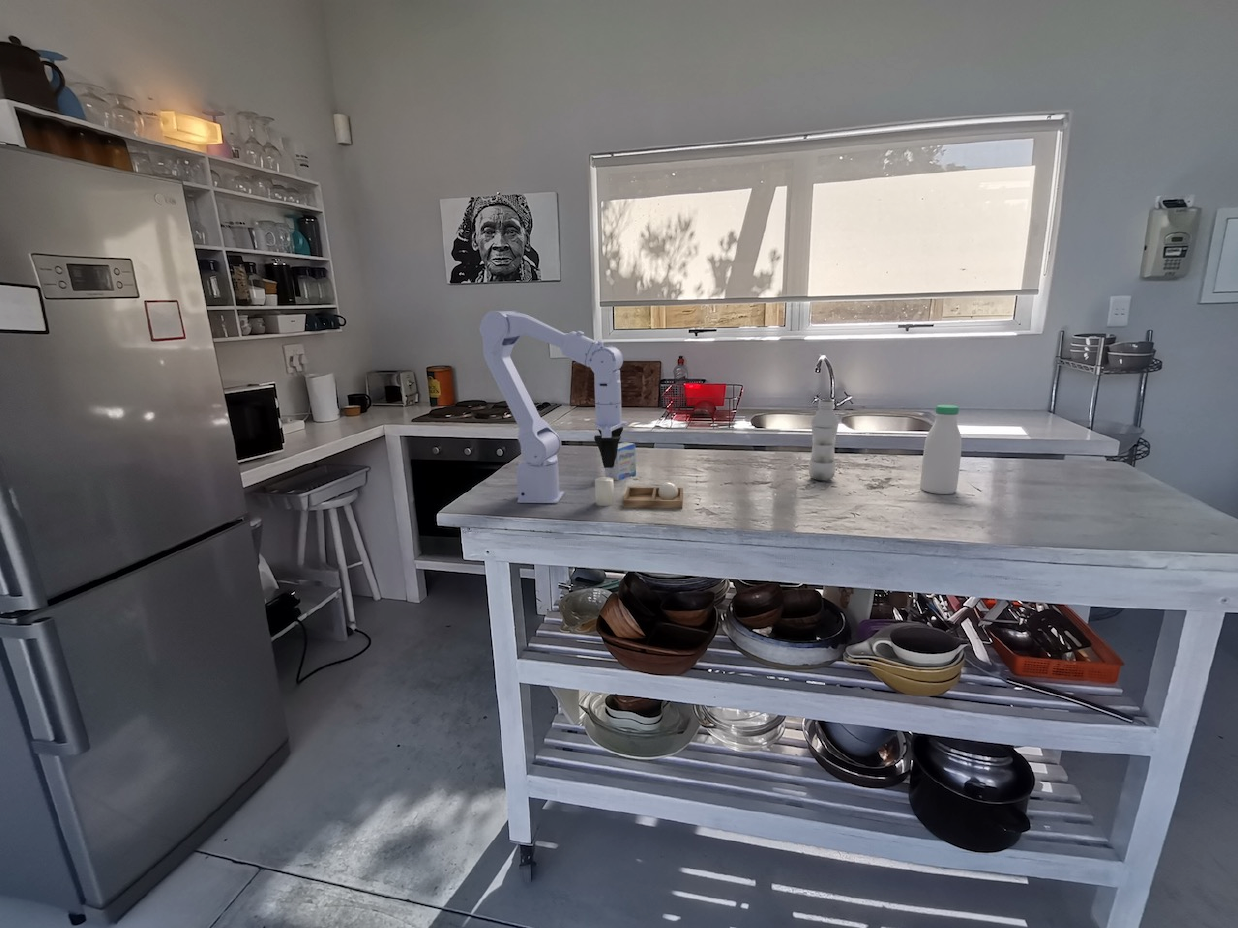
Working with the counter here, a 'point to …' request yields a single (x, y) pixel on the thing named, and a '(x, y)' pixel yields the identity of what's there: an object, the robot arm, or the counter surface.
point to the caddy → (650, 498)
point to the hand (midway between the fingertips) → (610, 463)
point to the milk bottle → (942, 453)
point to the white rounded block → (604, 491)
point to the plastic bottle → (823, 441)
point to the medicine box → (623, 462)
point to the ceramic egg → (668, 491)
